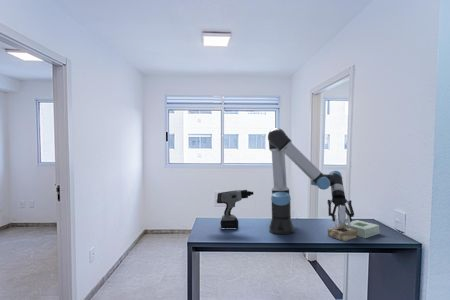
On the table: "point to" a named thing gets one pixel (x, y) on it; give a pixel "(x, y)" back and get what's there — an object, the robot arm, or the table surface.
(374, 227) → the sage rack
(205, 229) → the table surface
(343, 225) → the cylinder
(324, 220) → the table surface
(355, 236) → the maple sleeve
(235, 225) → the cordless drill
